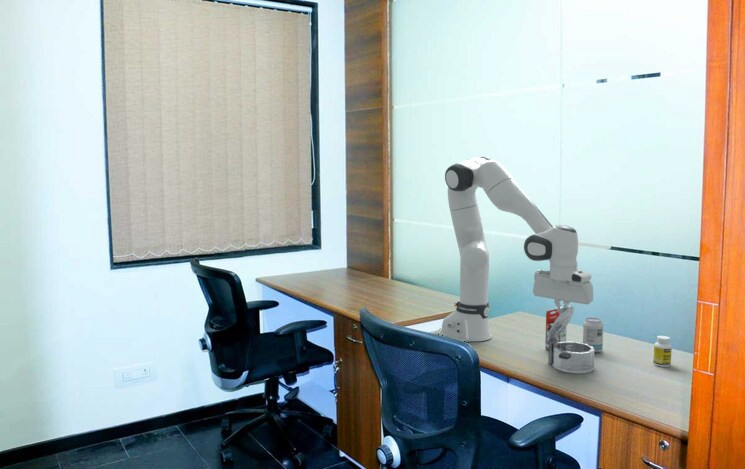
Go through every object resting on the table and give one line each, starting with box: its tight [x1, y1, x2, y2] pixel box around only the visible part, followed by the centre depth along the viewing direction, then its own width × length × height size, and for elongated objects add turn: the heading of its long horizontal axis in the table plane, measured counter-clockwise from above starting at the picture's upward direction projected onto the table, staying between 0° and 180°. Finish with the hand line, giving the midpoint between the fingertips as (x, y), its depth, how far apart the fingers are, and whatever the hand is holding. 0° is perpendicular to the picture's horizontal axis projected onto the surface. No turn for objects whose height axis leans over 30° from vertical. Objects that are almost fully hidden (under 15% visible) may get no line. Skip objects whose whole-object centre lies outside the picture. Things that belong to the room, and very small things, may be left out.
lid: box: [547, 305, 575, 345], centre depth 207 cm, size 15×15×4 cm
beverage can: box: [582, 317, 604, 354], centre depth 220 cm, size 7×7×12 cm
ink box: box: [545, 308, 567, 351], centre depth 224 cm, size 4×8×15 cm, turn 123°
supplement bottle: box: [652, 335, 673, 368], centre depth 205 cm, size 5×5×10 cm
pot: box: [547, 340, 595, 375], centre depth 205 cm, size 15×17×7 cm
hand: (561, 312), depth 205 cm, fingers closed
